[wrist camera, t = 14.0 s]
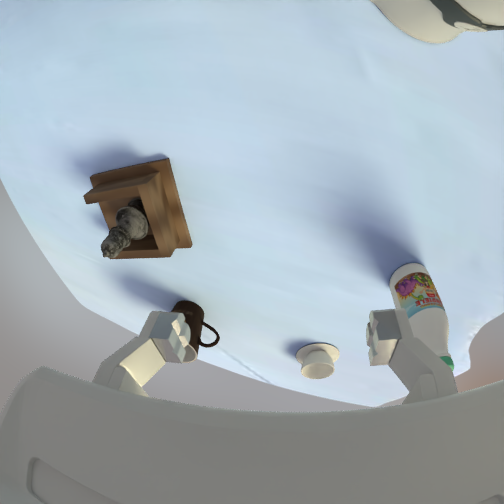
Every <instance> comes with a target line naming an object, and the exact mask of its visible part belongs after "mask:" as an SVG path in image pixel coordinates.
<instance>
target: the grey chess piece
mask: <svg viewBox="0 0 504 504" xmlns="http://www.w3.org/2000/svg"><path fill="white" fill-rule="evenodd" d="M115 221H116V225H117V226H116V227H112V228H111V229H110V231H109V235H108V236H107V238H106V239H105V240H104V241H103V242H102V244H101V250H102V252H103V257H109V258H115V257H116V256H118V255H119V253H120V252H121V251H122V249H123V248H125V247H128V246H129V244H130V240H131V239H134V240H139V239H142V238H144V237H145V236H146V234H147V233H148V227H149V226H150V224H149V221H148V218H147V215H146V212H145V209H144V206H143V203H142V200H141V198H134V199H132V200H131V201H130V202H129V203H128V206H124V207H121V208H120V209H119V210H118V211H117V213H116V216H115Z"/></svg>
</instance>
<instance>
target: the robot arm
mask: <svg viewBox="0 0 504 504" xmlns="http://www.w3.org/2000/svg"><path fill="white" fill-rule="evenodd" d="M370 1H371V2H373V3H374V4H375V5H376V6H377V7H378V8H379V9H380V10H381V11H382V13H383V14H384V15H385V16H386V17H387V18H388V19H389V20H390V21H391V22H392V23H393V24H394V25H395V26H396V27H398V28H399V29H400V30H402V31H403V32H405V33H407V34H408V35H410V36H412V37H414V38H416V39H419V40H421V41H425V42H429V43H445V42H448V41H451V40H453V39H454V38H456V37H457V36H458V35H459V34H460V33H463V32H465V31H470V32H487V31H491V30H504V0H370ZM369 319H370V322H369V323H368V324H367V329H366V340H367V345H368V346H369V347H370V349H369V353H368V354H369V360H370V366H375V365H389V367H390V368H391V369H392V370H393V371H394V373H395V374H396V375H397V376H398V378H399V379H400V380H401V381H402V383H403V384H404V385H405V386H406V388H407V389H408V390H409V394H408V395H407V397H406V398H405V400H404V401H403V403H402V405H395V406H388V407H380V408H371V409H361V410H350V411H349V410H348V411H331V412H265V411H248V410H234V409H224V408H215V407H206V406H199V405H192V404H185V403H179V402H173V401H167V400H162V399H157V398H152V397H148V395H147V393H146V392H145V391H144V390H143V389H142V386H143V385H144V384H145V383H146V382H147V381H148V380H149V379H150V378H151V377H152V376H153V375H154V374H155V373H156V372H157V371H158V370H159V369H160V368H161V367H162V366H163V365H164V364H165V363H166V362H173V363H182V362H183V359H184V356H185V353H186V351H185V349H184V347H186V346H187V345H188V344H189V341H190V334H191V333H190V328H189V325H188V324H187V323H185V322H184V320H185V317H184V315H183V313H175V312H163V311H162V312H161V311H152V312H151V313H150V314H149V316H148V318H147V320H146V322H145V325H144V327H143V329H142V331H141V333H140V335H139V337H135V338H134V339H132V340H131V341H130V342H128V343H127V344H126V345H124V346H123V347H122V348H120V349H119V350H117V351H116V352H115V353H114V354H112V355H111V356H109V357H108V358H107V359H105V360H104V361H103V362H102V363H101V365H100V367H99V369H98V371H97V373H96V375H95V377H94V379H93V381H92V382H89V381H85V380H83V379H79V378H77V377H74V376H71V375H68V374H64V373H62V372H59V371H56V370H54V369H51V368H49V367H45V366H42V367H39V368H37V369H36V370H34V371H32V372H31V373H29V374H28V375H26V376H25V377H24V378H22V379H21V380H20V381H19V382H18V384H17V385H16V387H15V388H14V390H13V391H12V393H11V395H10V396H9V398H8V400H7V402H6V404H5V405H4V407H3V409H2V411H1V413H0V504H504V380H501V381H498V382H495V383H492V384H489V385H486V386H482V387H479V388H476V389H472V390H468V391H465V392H461V393H458V391H457V387H456V383H455V379H454V375H453V372H452V369H451V368H450V367H449V366H448V365H447V364H446V363H445V362H444V361H443V360H442V359H441V358H440V357H438V356H437V355H436V354H435V353H434V352H433V351H432V350H431V349H430V348H428V347H427V346H426V345H425V344H424V343H423V342H422V341H421V340H420V339H418V338H417V337H415V338H414V335H413V332H412V329H411V325H410V322H409V319H408V316H407V313H406V310H405V309H404V308H399V309H386V310H374V311H371V312H370V315H369Z"/></svg>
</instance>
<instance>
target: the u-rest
mask: <svg viewBox="0 0 504 504" xmlns="http://www.w3.org/2000/svg"><path fill="white" fill-rule="evenodd" d="M90 180H91V183H92V186H93V189H91V190H90V191H89V192H88V193H86V194H85V195H84V196H83V197H84V199H85V202H86V204H92V203H97V202H99V205H100V208H101V210H102V213H103V215H104V218H105V221H106V223H107V225H108V228H109V230H110V229H111V228H112V227H116V226H117V225H116V221H115V216H116V213H117V211H118V210H119V209H120V208H121V207H124V206H128V203H129V202H130V201H131V200H132V199H134V198H141V200H142V203H143V206H144V209H145V212H146V215H147V218H148V221H149V224H150V226H149V227H148V233H147V234H146V236H145V237H144V238H142V239H139V240H134V239H131V240H130V244H129V246H128V247H125V248H123V249H122V251H121V252H120V253H119V255H118V256H116V257H115V258H110V259H131V258H163V257H171V255H172V253H173V252H174V250H175V249H176V248H191V246H192V241H191V238H190V234H189V231H188V227H187V224H186V220H185V217H184V213H183V210H182V206H181V202H180V199H179V195H178V191H177V188H176V184H175V180H174V176H173V172H172V168H171V164H170V160H169V158H168V159H163V160H157V161H152V162H147V163H142V164H137V165H133V166H128V167H124V168H119V169H115V170H111V171H106V172H102V173H98V174H95V175H92V176H91V177H90Z"/></svg>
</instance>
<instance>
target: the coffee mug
mask: <svg viewBox="0 0 504 504" xmlns="http://www.w3.org/2000/svg"><path fill="white" fill-rule="evenodd" d="M171 312H175V313H183V315H184V317H185V320H184V322H185V323H187V324H188V325H189V328H190V333H191V334H190V341H189V344H188V345H187V346H186V347H184V349H185V351H186V353H185V356H184V359H183V362H182V363H190V362H193V361H195V360H196V359H197V355H198V349H199V345H201V346H203V347H212V346H215V345H216V344H217V343H218V341H219V339H220V337H219V334H218V332H217V331H216V330H215V329H214V328H213V327H211V326H210V325H208V324H206V323H205V322H203V319H204V311H203V310H202V308H201V307H200V306H199V305H197V304H195V303H193V302H191V301H185V300H184V301H179V302H177V303H176V305H175V306H174V308H173V309H172V311H171ZM202 325H204V326H205V327H207V328H209V329H210V330H212V331H213V332H214V333H215V334H216V336H217V338H216V340H215V341H214V342H213V343H211V344H204V343H202V342H201V339H200V337H201V331H202Z"/></svg>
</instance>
